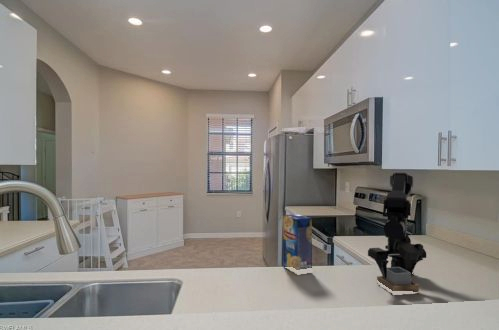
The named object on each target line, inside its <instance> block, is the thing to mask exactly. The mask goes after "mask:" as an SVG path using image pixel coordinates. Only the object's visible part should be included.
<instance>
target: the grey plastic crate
mask: <svg viewBox="0 0 499 330" xmlns="http://www.w3.org/2000/svg"><path fill="white" fill-rule="evenodd" d="M384 280H385V281H387V282H388V283H390V284H392V285H393V286H402V285H411V281H412V275H411V272H409V271H407V270H405V269H402V268H400V267H391V266H390V267H387V278H386V279H384Z"/></svg>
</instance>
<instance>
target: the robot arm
mask: <svg viewBox="0 0 499 330" xmlns="http://www.w3.org/2000/svg"><path fill="white" fill-rule="evenodd" d="M389 186H390V187H391V191H390V192H388V193H387V194H386V197H385V198H384V199H383V211H382V217H386V218H387V221H386V222H385V224H384V226H383V232H384V235H385V238H387V244H386V245H385V249H386V250H385V249H383V248H380V247H370V248H369V249H368V250H367V256H368V257H370V258H371V259H372V260H374V261H375V263H376V265H377V267H378V269H379V271H380V273H381V276H383V278H384V279H386V278H387V268H388V267H387V266H388V264H389V262H390V267H400V268H402V269H405V270H407V271H409V272H411V276H413V275H412V273H413V274H414V275H415V273H414V270H415V267H416V265H417V264H418V263H419V262H420V261H423V260H424V259H427V251H426V250H425V249H424V245H423V244H422V243H415V244H414V243H412V239H411V238H410V236H409V234H408V219H409V216H410V217H411V215H412V213H411V212H412V211H411V210H412V203H411V202H410V200H408V197H409V196H410V195H411V194H412V189H413V188H414V176H412V175H410V174H408V173H406V172H394V173H392V175H390V177H389ZM389 258H391V260H390V261H389V260H388V259H389Z"/></svg>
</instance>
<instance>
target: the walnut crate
mask: <svg viewBox="0 0 499 330" xmlns="http://www.w3.org/2000/svg"><path fill="white" fill-rule="evenodd" d="M377 280H378V281H379V282H380V283H382V284H383V285H385V286H386V287H388V288H389V289H391V290H392V291H413V292H418V291H419V292H420V285H419V284H418V283H417V282H414V281H412V280H411V285H402V286H393V285H392V284H390V283H388V282H387V281H385V280H384V278H383V276H382V275H378V276H376V281H377Z"/></svg>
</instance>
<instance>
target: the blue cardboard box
mask: <svg viewBox="0 0 499 330" xmlns="http://www.w3.org/2000/svg"><path fill="white" fill-rule="evenodd" d="M282 216H283V217H282V219H283V220H282V221H283V223H282V224H283V225H282V227H283V229H282V230H283V233H282V235H283V237H282V238H283V249H282V250H283V251H282V253H283V257H282V258H283V268H284V267H293V268H295V269H296V270H300V269H307V268H312V269H313V237H312V236H313V233H312V232H313V231H312V230H313V226H312V225H313V223H312V220H313V219H312V217H310V216H305V215H303V214H298V213H295V214H293V213H292V214H283V215H282Z"/></svg>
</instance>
